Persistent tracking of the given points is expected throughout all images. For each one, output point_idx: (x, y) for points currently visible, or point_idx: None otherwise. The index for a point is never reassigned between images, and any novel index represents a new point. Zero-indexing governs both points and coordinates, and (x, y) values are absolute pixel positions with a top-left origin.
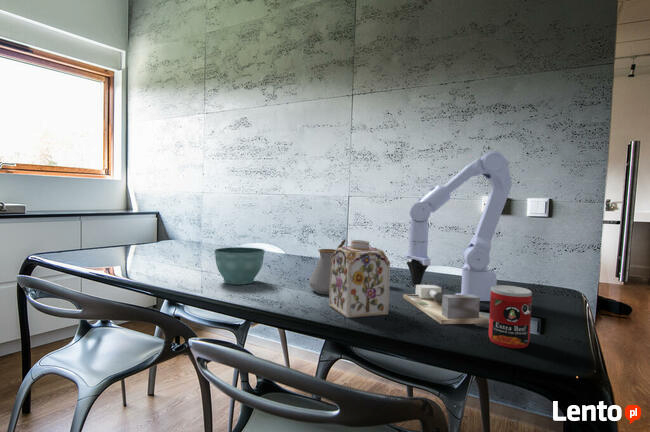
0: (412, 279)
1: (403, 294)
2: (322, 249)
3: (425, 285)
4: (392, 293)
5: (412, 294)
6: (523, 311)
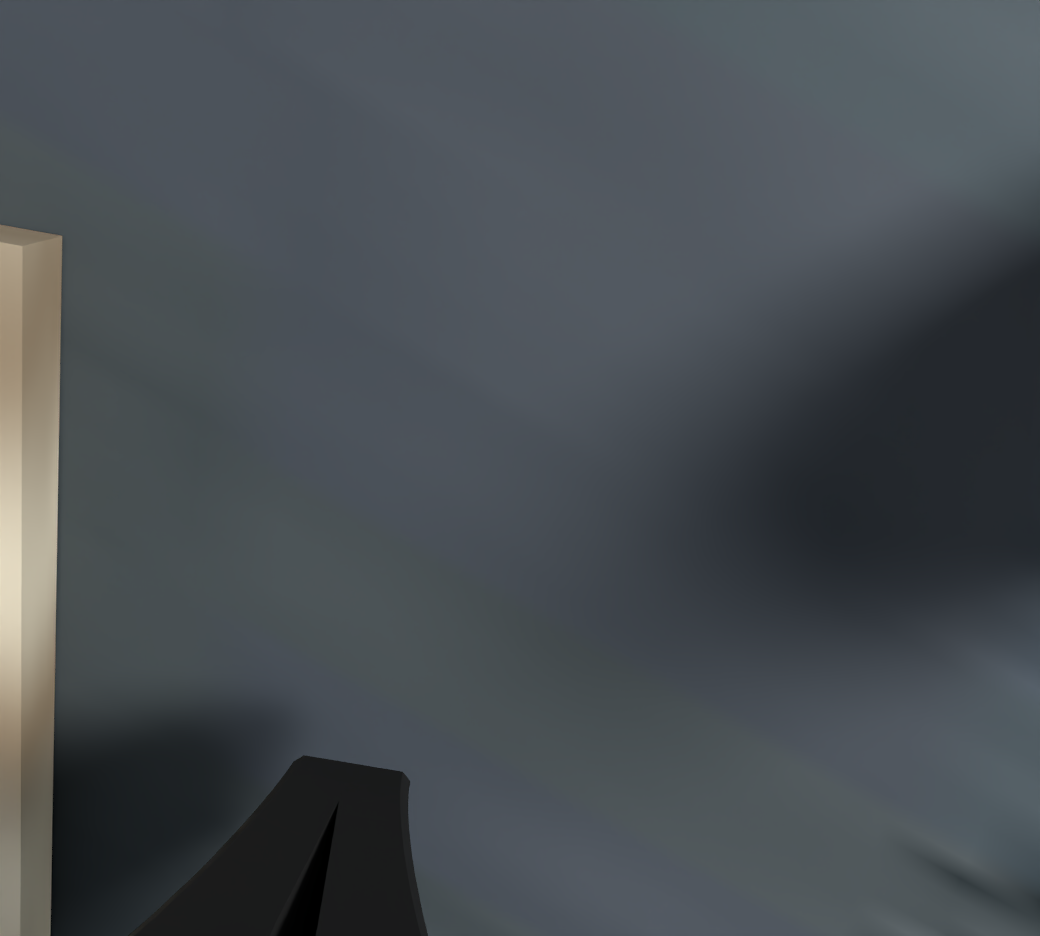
0: (319, 835)
1: (6, 244)
2: None
3: None
4: (507, 202)
5: (3, 465)
6: None
